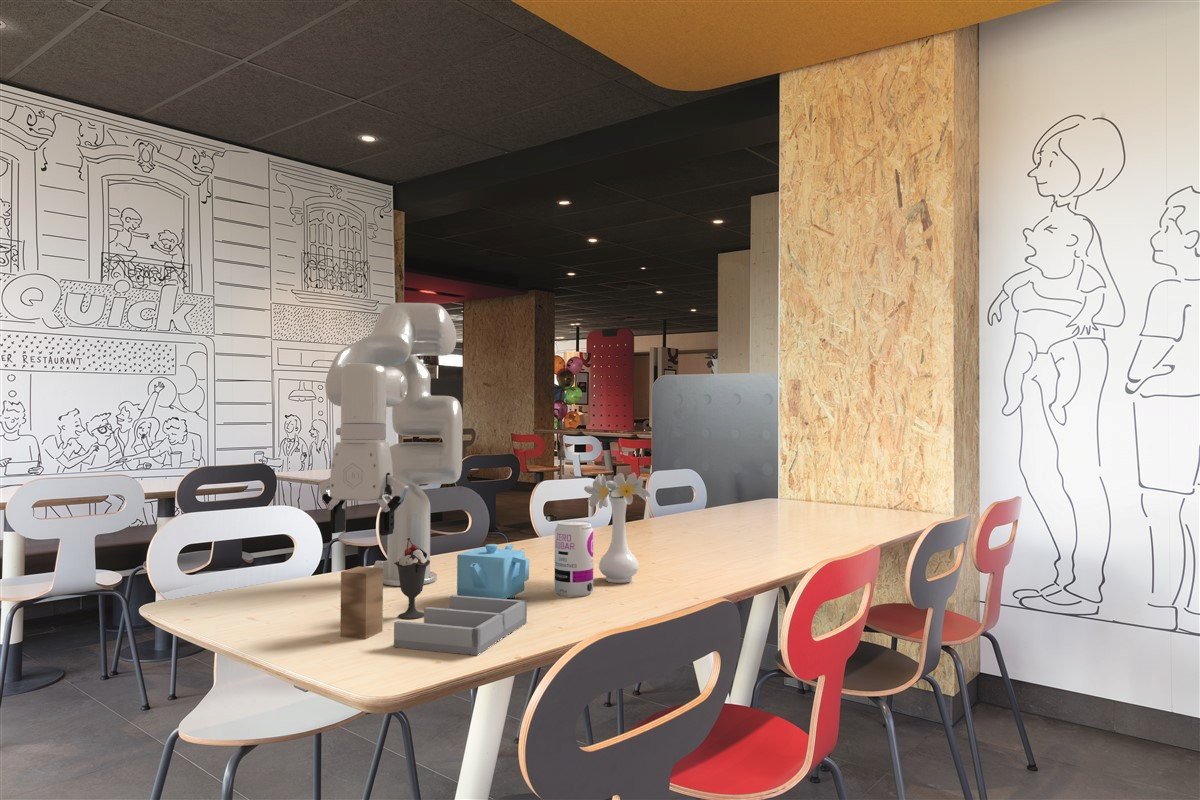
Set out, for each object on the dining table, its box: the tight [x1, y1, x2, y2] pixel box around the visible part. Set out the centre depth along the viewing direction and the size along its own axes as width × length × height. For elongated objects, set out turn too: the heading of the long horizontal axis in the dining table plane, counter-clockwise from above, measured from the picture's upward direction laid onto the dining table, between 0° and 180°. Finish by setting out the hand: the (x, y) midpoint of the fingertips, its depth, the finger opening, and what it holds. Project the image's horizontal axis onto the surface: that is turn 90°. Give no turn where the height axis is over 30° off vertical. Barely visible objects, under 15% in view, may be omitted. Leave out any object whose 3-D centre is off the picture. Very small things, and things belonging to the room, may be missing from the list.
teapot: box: [456, 543, 530, 599], centre depth 157 cm, size 16×18×11 cm
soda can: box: [554, 520, 594, 598], centre depth 162 cm, size 8×8×15 cm
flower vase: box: [583, 472, 651, 584], centre depth 175 cm, size 13×18×25 cm
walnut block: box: [339, 566, 384, 640], centre depth 131 cm, size 5×5×11 cm
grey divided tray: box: [393, 594, 528, 656], centre depth 131 cm, size 15×20×4 cm
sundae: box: [394, 538, 431, 620], centre depth 143 cm, size 7×7×15 cm
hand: (361, 533), depth 131 cm, fingers open, 9 cm apart
